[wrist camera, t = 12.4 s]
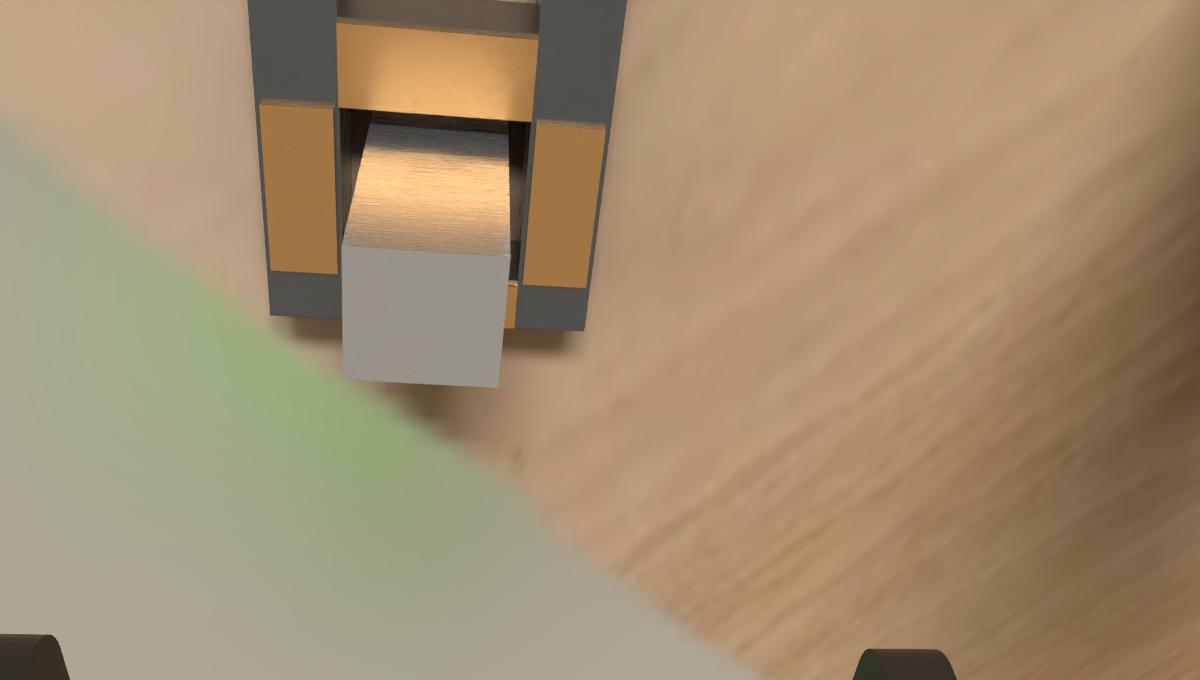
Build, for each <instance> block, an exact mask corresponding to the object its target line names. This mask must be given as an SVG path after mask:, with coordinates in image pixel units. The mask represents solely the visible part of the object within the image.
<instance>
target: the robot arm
mask: <svg viewBox="0 0 1200 680" xmlns="http://www.w3.org/2000/svg"><path fill="white" fill-rule="evenodd" d="M0 680H70V678H69V675H68V672H67V669H66V666H65V662H64V658H63V655H62V652H61V649H60V646H59V643H58V641H57V640H56V638H55V637H54V636H52V635H35V634H34V635H33V634H0ZM853 680H957V679H956V676H955V674H954V671H953V669H952V666H951V664H950V662H949V661H948V659H947V657H946V656H945V655H944V654H943V653H942V652H941V651H939V650H928V649H867V650H865V651H864V653H863V654H862V656H861V658H860V660H859V663H858V666H857V669H856V672H855V675H854V677H853Z"/></svg>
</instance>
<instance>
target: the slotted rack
mask: <svg viewBox="0 0 1200 680" xmlns="http://www.w3.org/2000/svg"><path fill="white" fill-rule="evenodd" d="M626 4H627V0H536V4H529V3H518V2H506V1H495V0H248V13H249V27H250V41H251V54H252V68H253V82H254V96H255V110H256V123H257V137H258V151H259V165H260V179H261V192H262V206H263V220H264V234H265V248H266V261H267V275H268V289H269V303H270V315H275V316H295V317H314V318H334V319H342V242H343V237H344V233H345V229H346V224H347V220H348V216H349V211H350V207H351V203H352V188H351V135H350V109H362V110H375V111H389V112H402V113H415V114H428V115H442V116H455V117H468V118H481V119H495V120H508V121H521V122H526V135H525V147H524V159H523V172H522V184H521V196H520V208H519V221H518V233H517V241H510V256H511V258H510V269H509V279H508V290H507V301H506V311H505V322H504V328H512V329H514V328H531V329H551V330H570V331H584V328H585V321H586V313H587V305H588V298H589V290H590V282H591V274H592V267H593V259H594V251H595V243H596V236H597V228H598V220H599V213H600V205H601V197H602V189H603V182H604V174H605V166H606V158H607V151H608V143H609V135H610V128H611V120H612V112H613V104H614V97H615V89H616V81H617V73H618V66H619V58H620V50H621V43H622V35H623V27H624V19H625V12H626Z"/></svg>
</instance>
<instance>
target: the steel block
mask: <svg viewBox="0 0 1200 680" xmlns="http://www.w3.org/2000/svg"><path fill="white" fill-rule="evenodd" d="M510 258H511V256H510V198H509V140H508V120H495V119H481V118H468V117H455V116H442V115H428V114H415V113H402V112H389V111H375V110H373V112H372V117H371V121H370V125H369V130H368V134H367V138H366V143H365V147H364V151H363V155H362V160H361V164H360V168H359V173H358V177H357V181H356V186H355V190H354V194H353V199H352V203H351V207H350V211H349V216H348V220H347V224H346V229H345V233H344V237H343V242H342V342H343V380H359V381H377V382H396V383H414V384H433V385H452V386H470V387H489V388H498V386H499V376H500V365H501V354H502V343H503V333H504V322H505V311H506V301H507V290H508V279H509V269H510Z"/></svg>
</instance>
